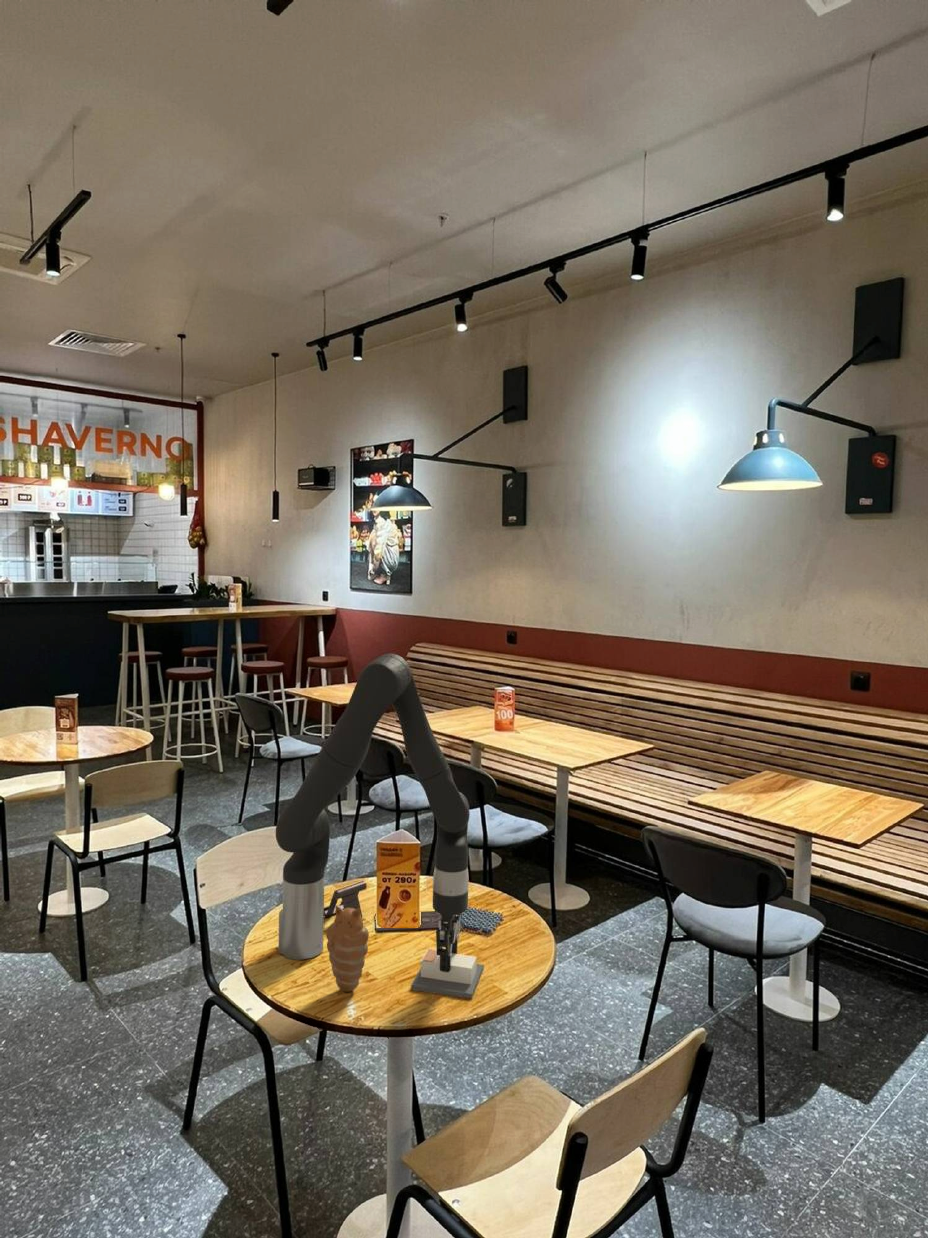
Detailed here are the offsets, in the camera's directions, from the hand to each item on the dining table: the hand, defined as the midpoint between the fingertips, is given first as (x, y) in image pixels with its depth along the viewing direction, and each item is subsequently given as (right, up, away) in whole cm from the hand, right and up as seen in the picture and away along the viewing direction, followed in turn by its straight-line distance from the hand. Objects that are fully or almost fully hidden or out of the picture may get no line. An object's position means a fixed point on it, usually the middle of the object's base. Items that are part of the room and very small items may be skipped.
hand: (448, 963), depth 164 cm
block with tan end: (0, -2, 0) cm, 2 cm away
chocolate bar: (-10, -2, +26) cm, 28 cm away
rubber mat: (0, -3, 0) cm, 3 cm away
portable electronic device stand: (-26, -1, +29) cm, 39 cm away
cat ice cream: (-21, -3, -5) cm, 22 cm away
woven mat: (+7, -3, +26) cm, 27 cm away
